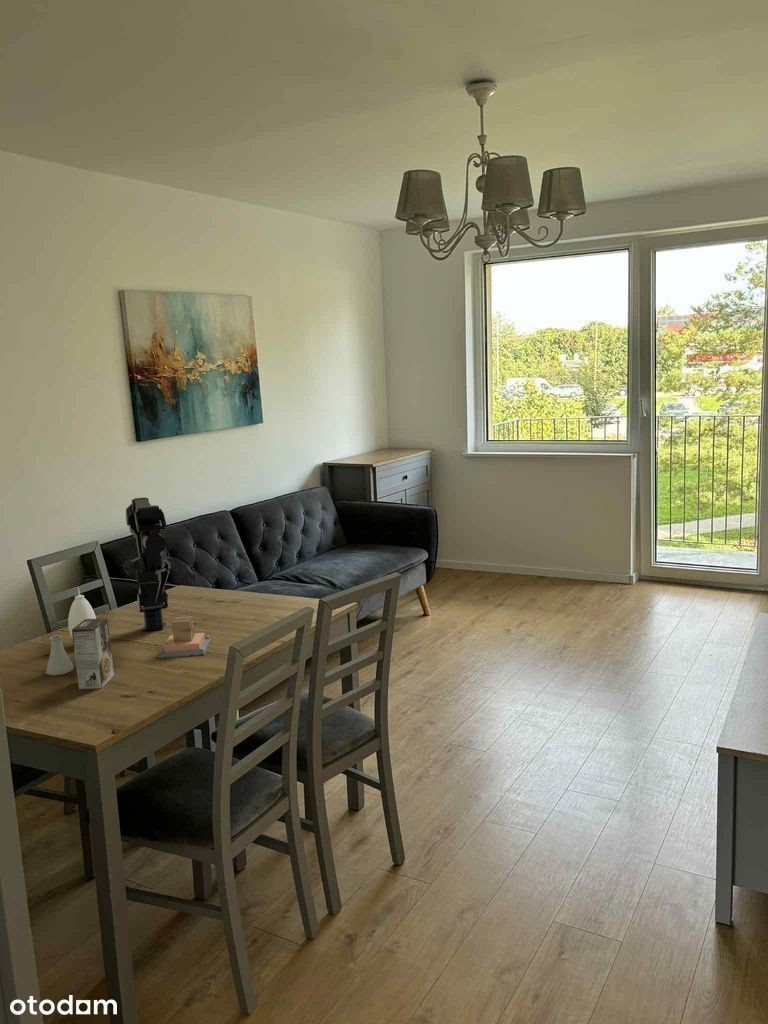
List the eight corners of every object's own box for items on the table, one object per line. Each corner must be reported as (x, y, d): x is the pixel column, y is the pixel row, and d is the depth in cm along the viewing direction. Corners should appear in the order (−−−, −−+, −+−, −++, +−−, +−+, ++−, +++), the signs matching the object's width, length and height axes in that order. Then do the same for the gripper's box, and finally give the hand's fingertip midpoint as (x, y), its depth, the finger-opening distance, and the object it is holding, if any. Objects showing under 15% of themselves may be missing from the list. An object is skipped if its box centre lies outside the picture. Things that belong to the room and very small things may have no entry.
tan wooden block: (177, 637, 240) (175, 617, 239) (194, 635, 240) (192, 616, 239) (174, 642, 235) (172, 622, 234) (191, 641, 235) (189, 621, 234)
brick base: (167, 643, 244) (166, 633, 244) (211, 640, 245) (210, 630, 244) (158, 658, 231) (157, 647, 231) (204, 654, 232) (203, 644, 232)
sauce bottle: (87, 649, 242) (80, 591, 240) (65, 648, 245) (58, 590, 242) (104, 641, 250) (97, 584, 247) (83, 640, 252) (76, 583, 249)
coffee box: (91, 676, 219) (84, 618, 217) (115, 675, 219) (108, 617, 216) (77, 689, 210) (70, 629, 208) (102, 688, 210) (95, 628, 207)
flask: (64, 676, 220) (60, 641, 219) (40, 676, 222) (35, 640, 220) (79, 667, 227) (75, 632, 226) (55, 666, 229) (51, 632, 227)
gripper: (131, 543, 252) (137, 592, 254) (116, 556, 233) (121, 609, 236) (168, 541, 252) (173, 590, 255) (155, 553, 234) (160, 606, 236)
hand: (156, 598), depth 245 cm, fingers open, 9 cm apart
